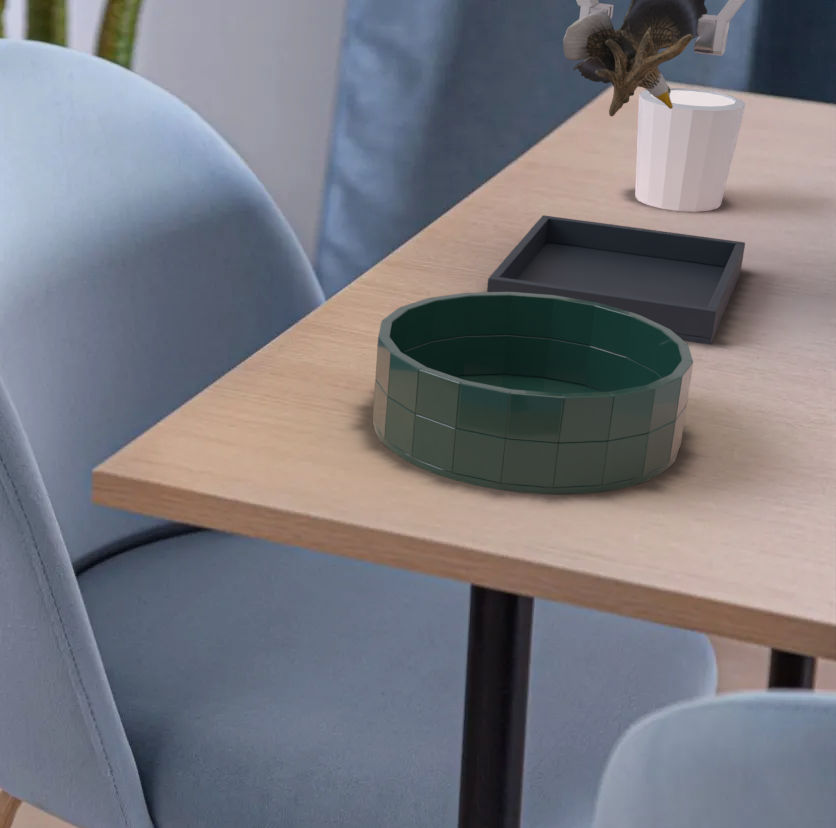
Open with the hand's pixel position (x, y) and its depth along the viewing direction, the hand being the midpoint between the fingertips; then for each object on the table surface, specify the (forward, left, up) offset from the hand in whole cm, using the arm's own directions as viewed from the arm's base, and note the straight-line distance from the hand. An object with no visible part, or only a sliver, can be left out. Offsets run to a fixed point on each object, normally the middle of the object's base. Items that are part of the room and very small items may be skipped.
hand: (649, 46), depth 93 cm
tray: (0, 0, -14) cm, 14 cm away
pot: (+10, +21, -14) cm, 27 cm away
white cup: (-10, -20, -14) cm, 26 cm away
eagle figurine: (0, 0, -3) cm, 3 cm away
